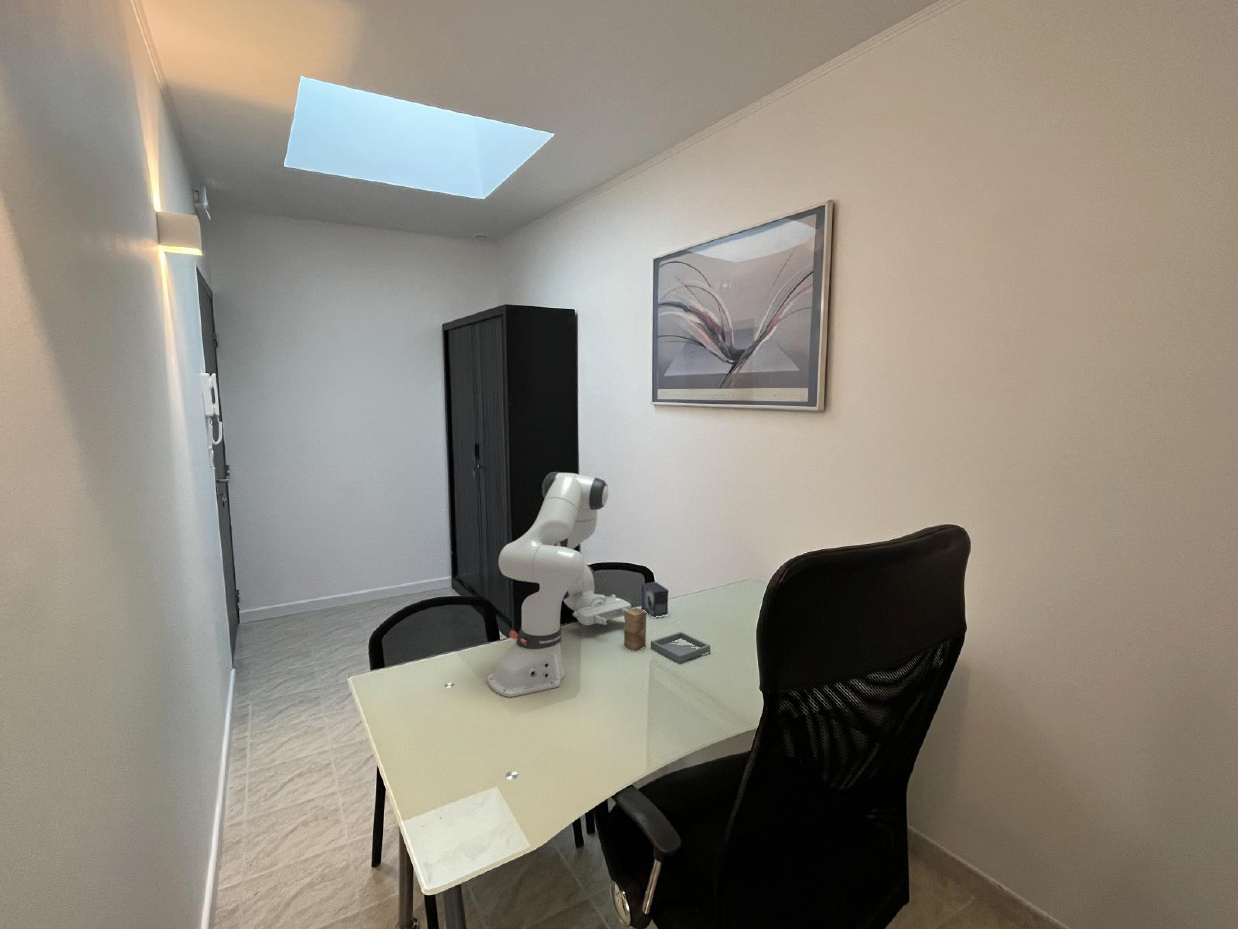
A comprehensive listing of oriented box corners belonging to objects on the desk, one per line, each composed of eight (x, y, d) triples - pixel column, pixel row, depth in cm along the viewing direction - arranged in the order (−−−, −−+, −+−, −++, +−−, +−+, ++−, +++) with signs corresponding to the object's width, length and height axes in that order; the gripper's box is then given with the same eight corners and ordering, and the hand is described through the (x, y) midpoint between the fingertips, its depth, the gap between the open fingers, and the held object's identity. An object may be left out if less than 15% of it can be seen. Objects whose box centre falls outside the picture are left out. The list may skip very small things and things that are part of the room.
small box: (639, 609, 229) (640, 583, 228) (654, 607, 232) (655, 581, 231) (652, 619, 220) (653, 591, 219) (668, 616, 223) (669, 589, 221)
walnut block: (633, 651, 192) (634, 615, 191) (624, 645, 196) (624, 610, 195) (645, 647, 195) (646, 612, 194) (635, 642, 199) (636, 607, 198)
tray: (679, 664, 184) (679, 656, 184) (650, 648, 195) (650, 641, 194) (710, 653, 192) (710, 645, 192) (680, 638, 203) (681, 631, 203)
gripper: (570, 604, 206) (593, 616, 195) (616, 593, 219) (641, 604, 208) (569, 622, 207) (593, 635, 196) (616, 610, 219) (640, 621, 209)
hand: (618, 619), depth 202 cm, fingers open, 8 cm apart
